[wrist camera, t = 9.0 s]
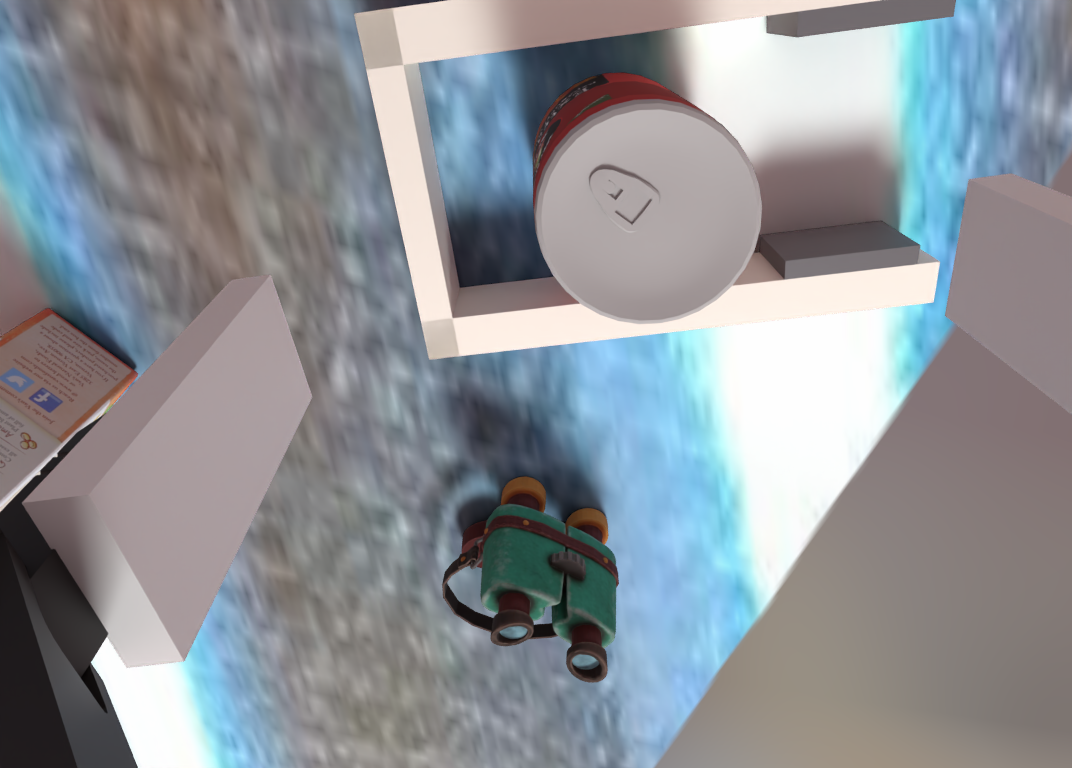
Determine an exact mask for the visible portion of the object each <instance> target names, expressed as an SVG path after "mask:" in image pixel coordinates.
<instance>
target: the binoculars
mask: <svg viewBox="0 0 1072 768" xmlns="http://www.w3.org/2000/svg"><path fill="white" fill-rule="evenodd" d="M545 504H546V491H545V489H544V487H543V485H542V484H541V483H540V482H539V481H537V480H535V479H534V478H530V477H518V478H515V479H513V480H511V481H510V482H509V483H508V484H506V486H505V487H504V489H503V492H502V498H501V506H499V507H497V508H496V509H495V510H494V512H493V513H492V514H491V516H490V517H489V519H488V520H486V521H481V522H478V523H476V524H473V525H471V526H470V527H468V528H467V529H466V530H465V532H464V534H463V541H462V554H460V556H459V558H458V559H457V560H455V561H454V562H453V563H452V564H451V565H450V566H449V568H448V569H447V570H446V571H445V574H444V579H443V584H442V587H443V598H444V599H445V601H446V602H447V604H448V605H449V607H450V608H451V610H452V611H453V613H454V614H455V615H457V616H458V617H460V618H461V619H463V620H464V621H466V622H468V623H469V624H471V625H472V626H475V627H478V628H481V629H483V630H486V631H489V632H491V641H492V642H493V643H494V644H496V645H499V646H512V645H517V644H520V643H522V642H524V641H526V640H527V639H539V638H553V637H556V636H559V637H560V638H562V639H563V640H565V641H567V642H568V643H570V644H572V646H571V647H570V648H569V649H568V651H567V659H566V664H567V667H568V669H569V671H570V672H571V673H572V674H573V675H574V676H575V677H576V678H578V679H580V680H582V681H585V682H592V683H593V682H599V681H601V680H603V679H604V678H605V677H606V675H607V654H606V651H605V649H604V648H606V647H607V646H608V645H609V644H610V643H612V642H613V641H614V638H615V632H616V587H617V586H618V584H619V580H618V571H617V567H616V559H615V556H614V554H613V553H612V551H611V550H610V549H609V548H608V547H607V546H605V545H604V544H605V543H606V542H607V539H608V524H607V519H606V517H605V516H604V514H603V513H601V512H600V511H598V510H596V509H592V508H584V509H580V510H577V511H576V512H574V513H572V514H571V515H570V516H569V518H568V519H567V521H566V524H565V523H563V522H562V521H560V520H558V519H556V518H554V517H552V516H550V515H547V514H545V513H544V510H545ZM467 566H470V567H471V569H474V568H476V567H480V568H482V579H481V603H482V605H483V606H484V607H485V608H486V609H488V610H490V611H493V612H496V613H498V614H496V615H495V617H494V618H491V617H488V616H486V615H483V614H480V613H477V612H475V611H474V610H472V609H470V608H469V607H467V606H466V605H464V604H463V603H461V602H459V601H458V600H457V598H456V597H455V595H454V593H453V592H452V590H451V589H450V587H449V586H448V584H447V581H448V580H449V579H450V577H451V576H452V575H454V574H455V573H457V572H458V571H460V570H461V569H463V568H465V567H467ZM548 606H552V623H550V624H537V625H534V623H533V621H535V620H538V619H540V618H542V617H543V615H544V610H545V607H548Z"/></svg>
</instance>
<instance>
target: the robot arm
mask: <svg viewBox="0 0 1072 768" xmlns="http://www.w3.org/2000/svg"><path fill="white" fill-rule="evenodd" d="M945 316H946V317H947V318H949V319H950V320H951V321H953V322H954V323H955V324H956V325H958V326H959V327H960V328H962V329H963V330H964V331H965V332H967V333H968V334H969V335H971V336H972V337H973V338H975V339H976V340H977V341H978V342H980V343H981V344H982V345H983V346H985V347H986V348H987V349H988V350H990V351H991V352H992V353H993V354H995V355H996V356H997V357H999V358H1000V359H1001V360H1003V361H1004V362H1005V363H1006V364H1008V365H1009V366H1010V367H1011V368H1013V369H1014V370H1015V371H1017V372H1018V373H1019V374H1021V375H1022V376H1023V377H1024V378H1025V379H1027V380H1028V381H1029V382H1031V383H1032V384H1033V385H1035V386H1036V387H1037V388H1038V389H1040V390H1041V391H1042V392H1044V393H1045V394H1046V395H1047V396H1049V397H1050V398H1051V399H1053V400H1054V401H1055V402H1056V403H1057V404H1059V405H1060V406H1061V407H1063V408H1064V409H1065V410H1066V411H1068V412H1069V413H1070V414H1071V415H1072V197H1070V196H1068V195H1065V194H1062V193H1060V192H1057V191H1055V190H1052V189H1050V188H1047V187H1045V186H1042V185H1039V184H1037V183H1034V182H1032V181H1029V180H1027V179H1024V178H1022V177H1019V176H1016V175H1014V174H1004V175H997V176H990V177H982V178H975V179H969V181H968V187H967V192H966V198H965V204H964V210H963V215H962V221H961V227H960V233H959V238H958V244H957V250H956V256H955V261H954V267H953V273H952V279H951V284H950V290H949V296H948V302H947V307H946V313H945ZM311 398H312V395H311V392H310V389H309V386H308V383H307V380H306V377H305V374H304V371H303V368H302V365H301V362H300V359H299V357H298V354H297V351H296V348H295V345H294V342H293V339H292V336H291V333H290V330H289V327H288V324H287V321H286V318H285V315H284V312H283V309H282V307H281V304H280V301H279V298H278V295H277V292H276V289H275V286H274V283H273V280H272V277H271V275H263V276H256V277H249V278H241V279H234V280H231V281H230V282H229V283H228V284H227V285H226V286H225V287H224V288H223V290H222V291H221V292H220V293H219V294H218V295H217V296H216V297H215V298H214V299H213V300H212V301H211V302H210V303H209V304H208V306H207V307H206V308H205V309H204V310H203V311H202V312H201V313H200V314H199V315H198V316H197V317H196V318H195V319H194V320H193V321H192V323H191V324H190V325H189V326H188V327H187V328H186V329H185V330H184V331H183V332H182V333H181V334H180V335H179V336H178V337H177V338H176V340H175V341H174V342H173V343H172V344H171V345H170V346H169V347H168V348H167V349H166V350H165V351H164V352H163V353H162V354H161V355H160V357H159V358H158V359H157V360H156V361H155V362H154V363H153V364H152V365H151V366H150V367H149V368H148V369H147V370H146V371H145V373H144V374H143V375H142V376H141V377H140V378H139V379H138V380H137V381H136V382H135V383H134V384H133V385H132V386H131V387H130V388H129V390H128V391H127V392H126V393H125V394H124V395H123V396H122V397H121V398H120V399H119V400H118V401H117V402H116V403H115V404H114V405H113V407H112V408H111V409H110V410H109V411H108V412H107V413H105V414H104V415H102V416H101V417H99V418H98V419H96V420H95V421H93V422H92V423H90V424H89V425H87V426H86V427H84V428H83V429H81V430H80V431H78V432H77V433H76V434H75V435H74V436H73V437H72V438H71V439H70V440H69V441H68V442H67V443H66V444H65V445H64V446H63V447H62V448H61V449H60V450H59V452H58V453H57V457H53V458H52V459H51V460H50V461H49V462H48V463H47V464H46V465H45V466H44V467H43V468H42V469H41V470H40V475H35V476H34V477H33V478H32V479H31V481H30V482H29V483H28V484H27V485H26V486H25V487H24V488H23V489H22V490H21V491H20V492H19V493H18V494H17V495H16V496H15V497H14V498H13V499H12V500H11V501H10V502H9V503H8V504H7V505H6V506H5V507H4V509H3V510H2V511H1V512H0V768H138V767H137V764H136V762H135V759H134V757H133V754H132V752H131V749H130V747H129V744H128V742H127V739H126V737H125V734H124V732H123V730H122V727H121V725H120V722H119V720H118V717H117V715H116V712H115V710H114V707H113V705H112V702H111V700H110V697H109V695H108V692H107V690H106V687H105V685H104V682H103V680H102V679H101V677H100V676H99V674H98V673H97V671H96V670H95V668H94V667H93V665H92V664H91V661H92V660H93V658H94V656H95V655H96V653H97V652H98V650H99V648H100V647H101V645H102V643H103V642H104V640H105V639H106V637H107V638H108V639H109V641H110V642H111V644H112V645H113V647H114V649H115V650H116V652H117V653H118V655H119V656H120V658H121V660H122V661H123V663H124V664H125V666H126V667H127V668H130V667H139V666H148V665H156V664H165V663H174V662H183V661H185V659H186V657H187V654H188V652H189V650H190V648H191V646H192V644H193V642H194V640H195V638H196V636H197V634H198V632H199V630H200V628H201V626H202V624H203V621H204V619H205V617H206V615H207V613H208V611H209V609H210V607H211V605H212V603H213V601H214V599H215V597H216V595H217V593H218V590H219V588H220V586H221V584H222V582H223V580H224V578H225V576H226V574H227V572H228V570H229V568H230V566H231V564H232V562H233V559H234V557H235V555H236V553H237V551H238V549H239V547H240V545H241V543H242V541H243V539H244V537H245V535H246V533H247V531H248V529H249V526H250V524H251V522H252V520H253V518H254V516H255V514H256V512H257V510H258V508H259V506H260V504H261V502H262V500H263V498H264V495H265V493H266V491H267V489H268V487H269V485H270V483H271V481H272V479H273V477H274V475H275V473H276V471H277V469H278V467H279V464H280V462H281V460H282V458H283V456H284V454H285V452H286V450H287V448H288V446H289V444H290V442H291V440H292V438H293V436H294V433H295V431H296V429H297V427H298V425H299V423H300V421H301V419H302V417H303V415H304V413H305V411H306V409H307V407H308V405H309V403H310V400H311Z"/></svg>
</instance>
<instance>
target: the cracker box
mask: <svg viewBox="0 0 1072 768" xmlns="http://www.w3.org/2000/svg"><path fill="white" fill-rule="evenodd" d="M137 376H138V373H137V372H136V371H134V370H133V369H132V368H130V367H129V366H128V365H126V364H125V363H123V362H122V361H121V360H119V359H118V358H117V357H115V356H114V355H113V354H111V353H110V352H108V351H107V350H106V349H104V348H103V347H101V346H100V345H99V344H97V343H96V342H95V341H93V340H92V339H91V338H89V337H88V336H86V335H85V334H84V333H82V332H81V331H80V330H78V329H77V328H76V327H74V326H73V325H71V324H70V323H69V322H67V321H66V320H65V319H63V318H62V317H60V316H59V315H58V314H56V313H55V312H54V311H53V310H51V309H49V308H47V309H45V310H43V311H42V312H40V313H38V314H37V315H35V316H33V317H32V318H30V319H28V320H27V321H25V322H23V323H22V324H20V325H19V326H17V327H15V328H14V329H12V330H11V331H9V332H8V333H6V334H4V335H3V336H1V337H0V512H1V511H2V510H3V509H4V507H5V506H6V505H7V504H8V503H9V502H10V501H11V500H12V499H13V498H14V497H15V496H16V495H17V494H18V493H19V492H20V491H21V490H22V489H23V488H24V487H25V486H26V485H27V484H28V483H29V482H30V481H31V479H32V478H33V477H34V476H35V475H40V470H41V469H42V468H43V467H44V466H45V465H46V464H47V463H48V462H49V461H50V460H51V459H52V458H53V457H57V453H58V452H59V450H60V449H61V448H62V447H63V446H64V445H65V444H66V443H67V442H68V441H69V440H70V439H71V438H72V437H73V436H74V435H75V434H76V433H77V432H78V431H80V430H81V429H83V428H84V427H86V426H87V425H89V424H90V423H92V422H93V421H95V420H96V419H98V418H99V417H101V416H102V415H104V414H105V413H106V412H107V411H108V410H109V409H110V408H111V407H112V405H113V404H114V403H115V402H116V401H117V400H118V398H119V397H120V396H121V395H122V394H123V393H124V391H125V390H126V389H127V388H128V387H129V385H130V384H131V383H132V382H133V381H134V380H135V378H136V377H137Z"/></svg>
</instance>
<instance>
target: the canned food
mask: <svg viewBox="0 0 1072 768" xmlns="http://www.w3.org/2000/svg"><path fill="white" fill-rule="evenodd" d="M533 206H534V219H535V229H536V235H537V238H538V242H539V245H540V249H541V252H542V254H543V257H544V259H545V261H546V263H547V264H548V266H549V268H550V270H551V272H552V274H553V276H554V277H555V278H556V280H557V281H558V282H559V283H560V284H561V286H562V287H563V288H564V289H565V291H566V292H567V293H569V294H570V295H571V296H572V297H573V298H574V299H576V300H577V301H578V302H579V303H580V304H582V305H583V306H585V307H587V308H589V309H590V310H592V311H594V312H596V313H598V314H599V315H602V316H605V317H608V318H611V319H614V320H617V321H622V322H628V323H635V324H655V323H663V322H668V321H673V320H677V319H681V318H683V317H686V316H688V315H691V314H693V313H696V312H698V311H700V310H702V309H703V308H705V307H706V306H708V305H710V304H711V303H713V302H714V301H716V300H717V299H718V298H719V297H720V296H722V295H723V294H724V293H725V292H726V291H727V290H728V289H729V288H730V287H731V286H732V285H733V284H734V283H735V281H736V280H737V279H738V278H739V276H740V275H741V274H742V272H743V271H744V270H745V268H746V266H747V264H748V262H749V260H750V258H751V256H752V254H753V252H754V250H755V247H756V243H757V240H758V236H759V232H760V229H761V215H762V202H761V194H760V187H759V183H758V180H757V177H756V174H755V172H754V169H753V166H752V164H751V162H750V160H749V159H748V157H747V155H746V154H745V152H744V150H743V149H742V147H741V146H740V144H739V143H738V141H737V140H736V139H735V138H734V137H733V136H732V135H731V134H730V133H729V131H728V130H727V129H726V128H725V127H724V126H723V125H722V124H720V123H719V122H717V121H716V120H715V119H714V118H712V117H711V116H709V115H708V114H707V113H705V112H704V111H702V110H701V109H699V108H698V107H696V106H695V105H693V104H691V103H690V102H688V101H686V100H685V99H683V98H682V97H680V96H678V95H677V94H675V93H674V92H672V91H670V90H669V89H667V88H665V87H664V86H662V85H661V84H659V83H657V82H655V81H653V80H650V79H648V78H645V77H643V76H640V75H635V74H629V73H605V74H601V75H597V76H593V77H589V78H587V79H585V80H583V81H581V82H579V83H577V84H575V85H573V86H572V87H570V88H569V89H568V90H567V91H565V92H564V93H563V94H561V95H560V96H559V97H558V98H557V100H556V101H555V102H554V103H553V104H552V105H551V107H550V108H549V109H548V111H547V113H546V114H545V116H544V118H543V120H542V122H541V123H540V126H539V129H538V132H537V135H536V139H535V144H534V153H533Z"/></svg>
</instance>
